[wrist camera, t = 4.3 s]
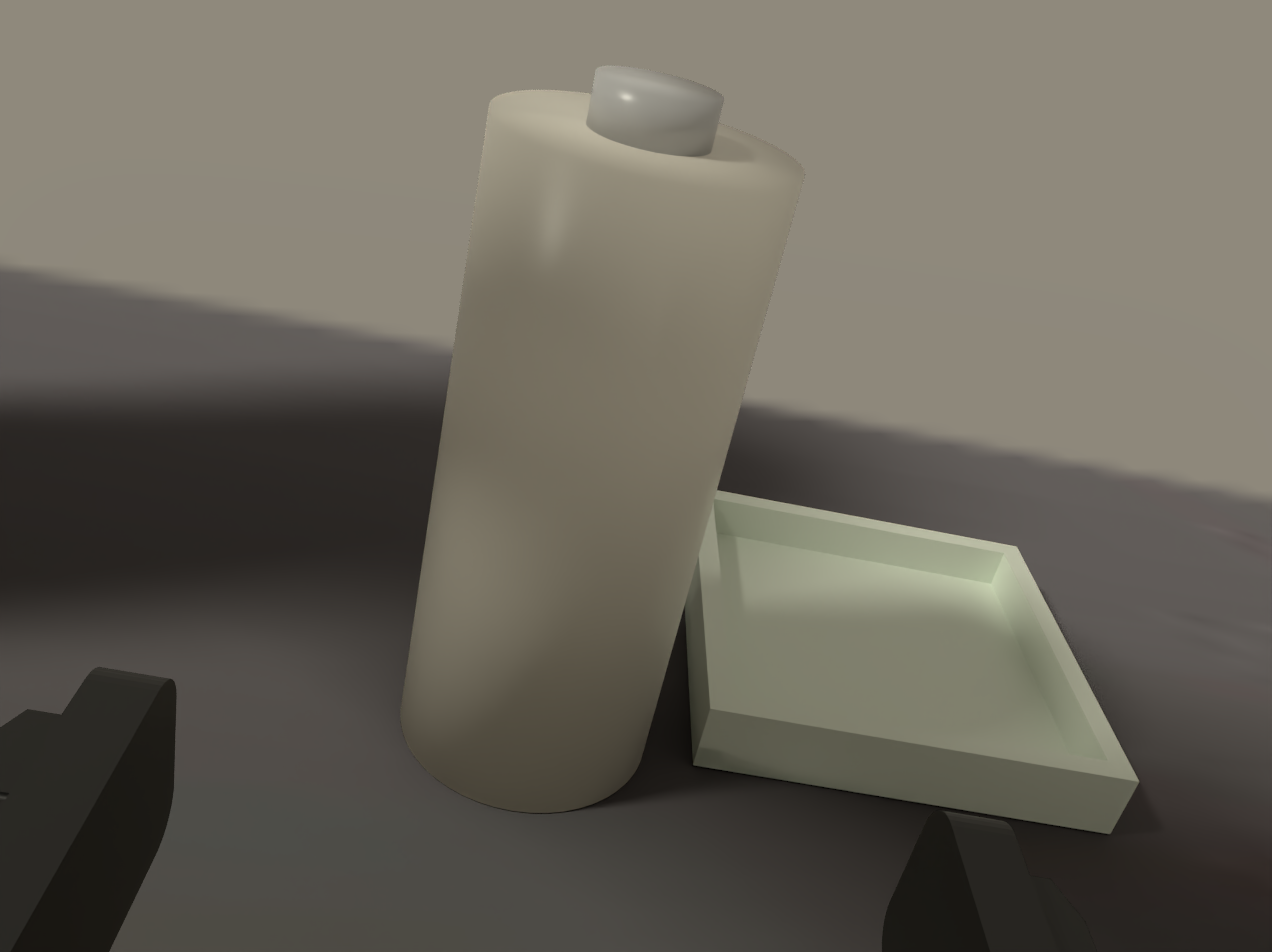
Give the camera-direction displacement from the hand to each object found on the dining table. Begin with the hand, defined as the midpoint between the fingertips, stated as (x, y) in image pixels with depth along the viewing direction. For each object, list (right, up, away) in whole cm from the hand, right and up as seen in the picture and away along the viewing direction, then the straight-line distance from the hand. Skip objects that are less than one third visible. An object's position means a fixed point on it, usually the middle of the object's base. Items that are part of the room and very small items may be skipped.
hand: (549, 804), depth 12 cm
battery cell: (-1, -2, +12) cm, 12 cm away
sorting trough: (+6, -1, +16) cm, 17 cm away
